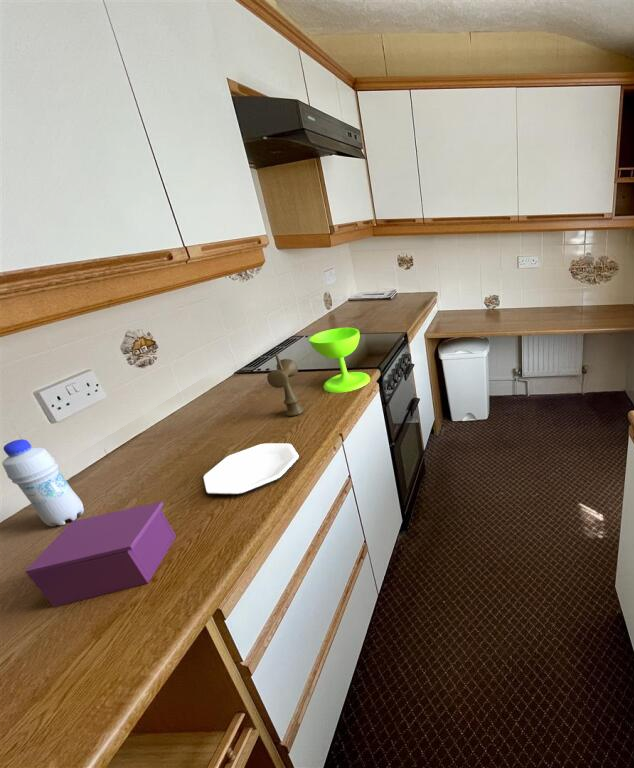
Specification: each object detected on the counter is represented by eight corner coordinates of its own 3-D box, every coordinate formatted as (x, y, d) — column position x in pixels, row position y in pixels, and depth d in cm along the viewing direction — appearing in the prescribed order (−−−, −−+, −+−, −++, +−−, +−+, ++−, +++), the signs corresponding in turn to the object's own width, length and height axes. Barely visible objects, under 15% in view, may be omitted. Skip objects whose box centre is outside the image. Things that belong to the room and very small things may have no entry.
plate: (202, 470, 102) (200, 465, 101) (287, 439, 113) (285, 434, 112) (212, 511, 88) (209, 505, 87) (307, 471, 99) (305, 466, 98)
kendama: (310, 404, 131) (292, 346, 123) (301, 419, 123) (281, 358, 114) (290, 407, 130) (271, 349, 122) (280, 422, 122) (258, 360, 113)
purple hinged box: (176, 536, 82) (159, 506, 78) (148, 583, 72) (127, 551, 68) (95, 554, 79) (74, 524, 75) (54, 607, 68) (27, 575, 65)
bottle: (38, 527, 87) (-21, 449, 78) (76, 505, 92) (25, 430, 84) (58, 532, 85) (0, 453, 76) (96, 510, 90) (45, 434, 82)
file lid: (163, 504, 78) (162, 501, 78) (132, 549, 68) (130, 546, 68) (74, 524, 75) (71, 521, 75) (27, 574, 65) (24, 571, 65)
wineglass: (355, 393, 137) (343, 343, 129) (313, 392, 140) (298, 343, 132) (378, 373, 151) (367, 327, 143) (339, 373, 154) (327, 327, 146)
